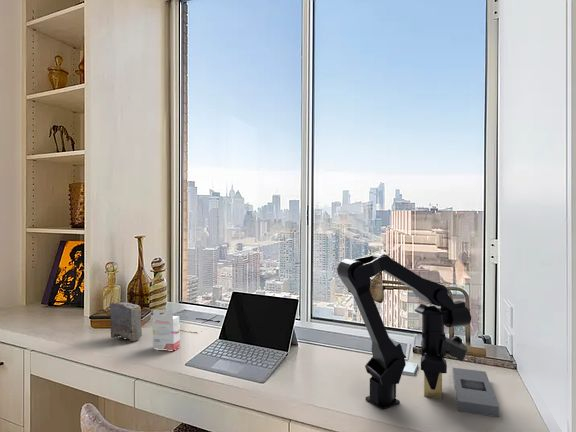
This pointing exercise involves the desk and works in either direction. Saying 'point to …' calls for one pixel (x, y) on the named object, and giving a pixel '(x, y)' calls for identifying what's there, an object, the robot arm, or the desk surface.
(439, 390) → the brass block
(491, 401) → the grey flat rectangular block
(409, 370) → the hard drive
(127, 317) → the geological specimen
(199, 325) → the desk surface
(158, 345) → the ink cartridge box
